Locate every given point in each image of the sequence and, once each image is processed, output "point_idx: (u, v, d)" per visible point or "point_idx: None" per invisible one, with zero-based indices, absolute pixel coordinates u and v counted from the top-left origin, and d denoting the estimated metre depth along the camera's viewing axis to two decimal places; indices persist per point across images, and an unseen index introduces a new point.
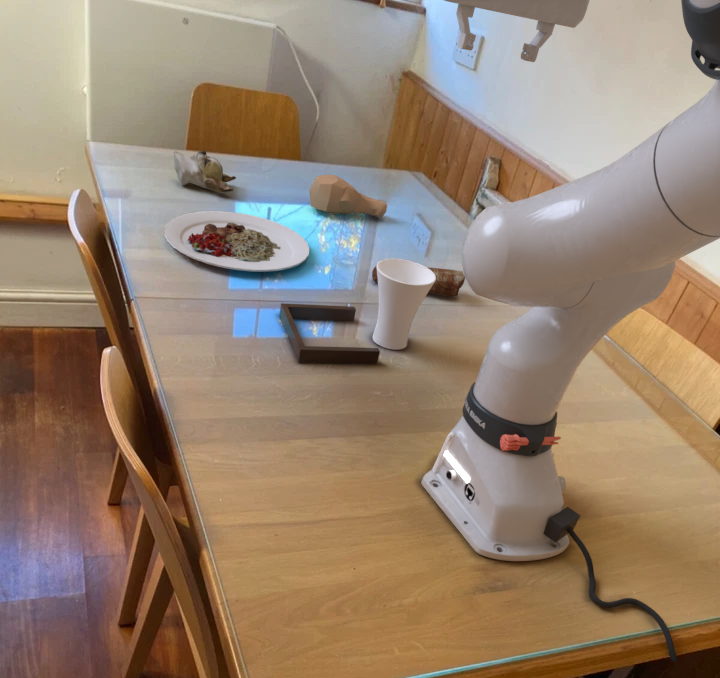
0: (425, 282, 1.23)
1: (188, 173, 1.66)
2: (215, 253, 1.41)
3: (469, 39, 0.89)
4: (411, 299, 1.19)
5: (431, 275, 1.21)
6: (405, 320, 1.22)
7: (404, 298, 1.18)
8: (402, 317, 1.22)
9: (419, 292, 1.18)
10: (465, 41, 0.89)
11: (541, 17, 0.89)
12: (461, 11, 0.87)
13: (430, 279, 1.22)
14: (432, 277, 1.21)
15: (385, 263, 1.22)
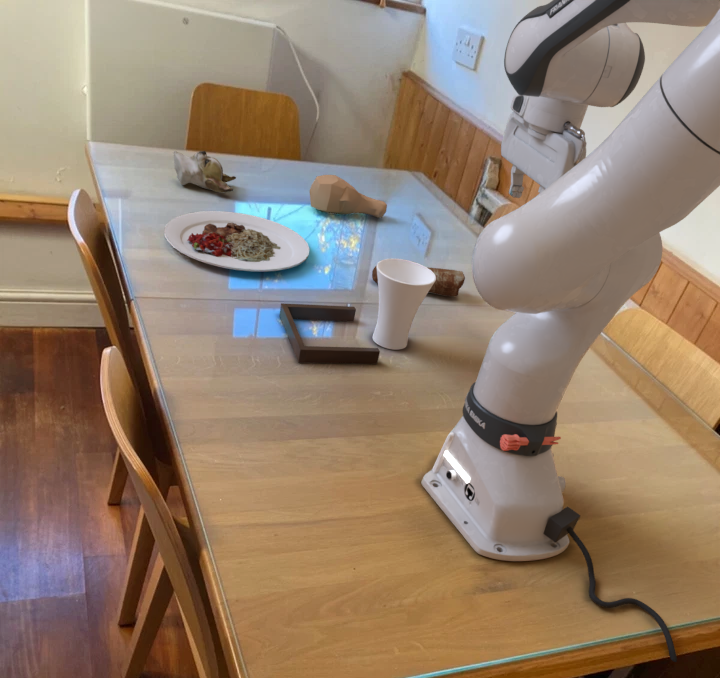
0: (425, 282, 1.23)
1: (188, 173, 1.66)
2: (215, 253, 1.41)
3: None
4: (411, 299, 1.19)
5: (431, 275, 1.21)
6: (405, 320, 1.22)
7: (404, 298, 1.18)
8: (402, 317, 1.22)
9: (419, 292, 1.18)
10: None
11: None
12: None
13: (430, 279, 1.22)
14: (432, 277, 1.21)
15: (385, 263, 1.22)
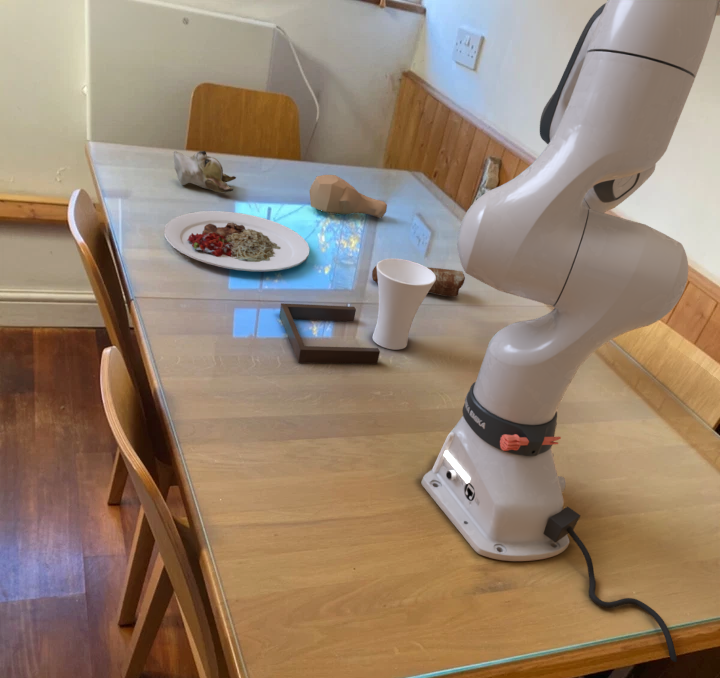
0: (425, 282, 1.23)
1: (188, 173, 1.66)
2: (215, 253, 1.41)
3: None
4: (411, 299, 1.19)
5: (431, 275, 1.21)
6: (405, 320, 1.22)
7: (404, 298, 1.18)
8: (402, 317, 1.22)
9: (419, 292, 1.18)
10: None
11: None
12: None
13: (430, 279, 1.22)
14: (432, 277, 1.21)
15: (385, 263, 1.22)
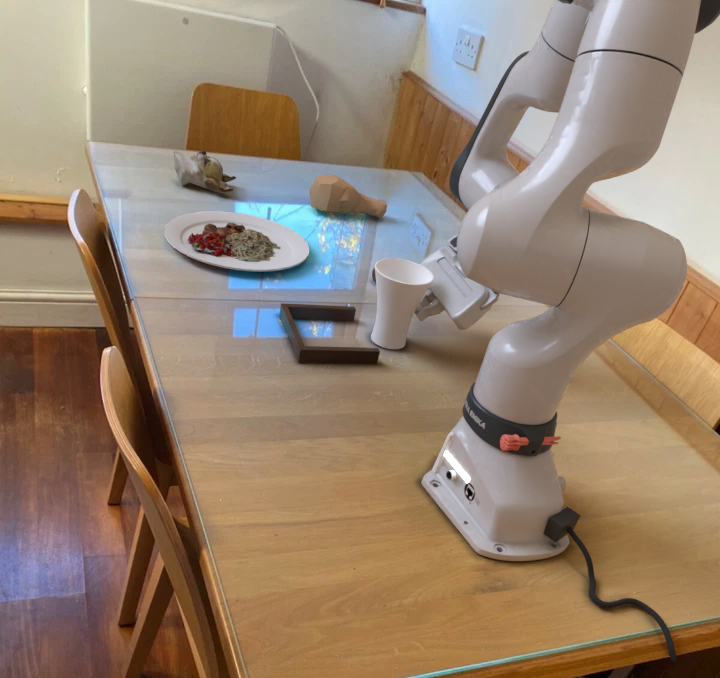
0: (423, 281, 1.23)
1: (188, 173, 1.66)
2: (215, 253, 1.41)
3: None
4: (410, 299, 1.19)
5: (429, 274, 1.21)
6: (404, 320, 1.22)
7: (403, 298, 1.18)
8: (401, 317, 1.22)
9: (417, 292, 1.18)
10: None
11: None
12: (439, 310, 1.24)
13: (428, 279, 1.22)
14: (430, 276, 1.21)
15: (383, 263, 1.22)
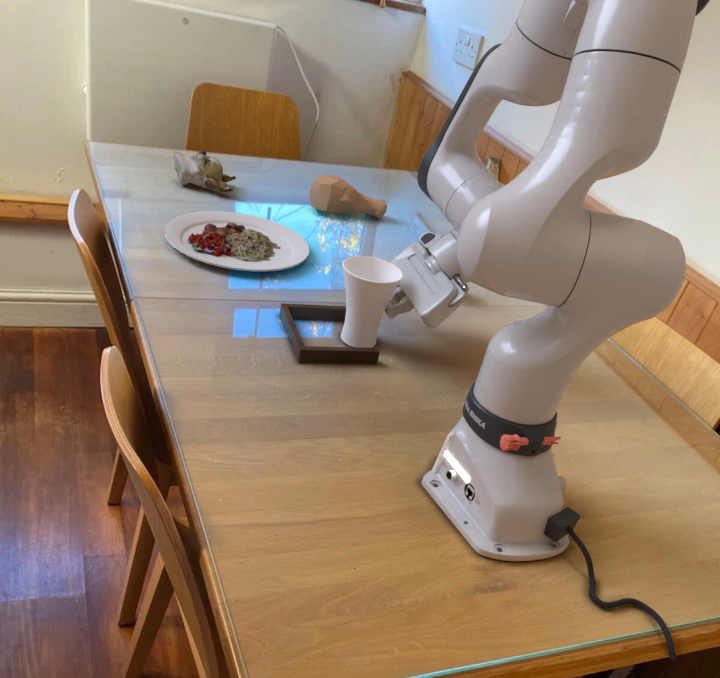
0: (392, 279, 1.21)
1: (188, 173, 1.66)
2: (215, 253, 1.41)
3: None
4: (380, 297, 1.17)
5: (397, 271, 1.20)
6: (374, 318, 1.21)
7: (373, 296, 1.16)
8: (371, 316, 1.20)
9: (387, 290, 1.16)
10: None
11: None
12: (409, 307, 1.22)
13: (396, 276, 1.20)
14: (399, 273, 1.19)
15: (350, 261, 1.20)
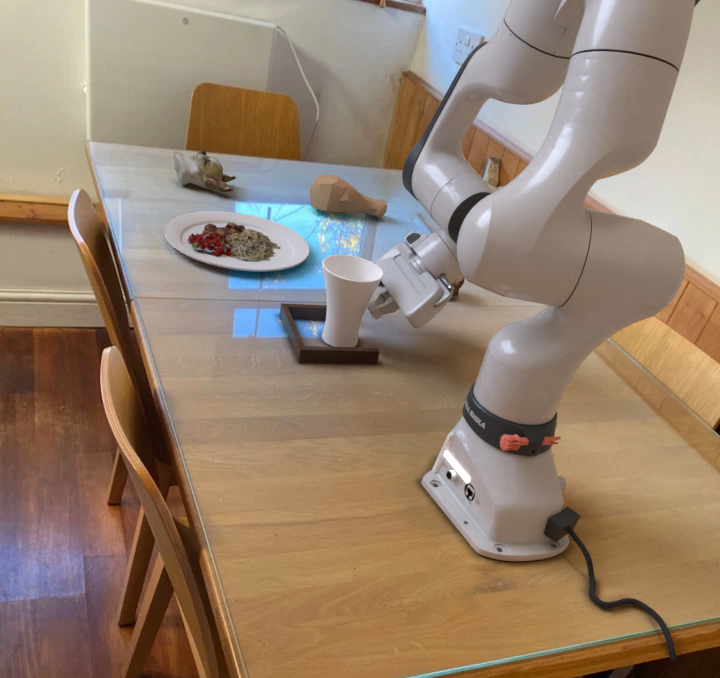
0: (372, 278, 1.20)
1: (188, 173, 1.66)
2: (215, 253, 1.41)
3: None
4: (360, 296, 1.16)
5: (378, 270, 1.19)
6: (355, 318, 1.19)
7: (353, 296, 1.15)
8: (352, 315, 1.19)
9: (368, 289, 1.15)
10: None
11: None
12: (394, 308, 1.21)
13: (377, 275, 1.19)
14: (379, 272, 1.18)
15: (330, 260, 1.19)
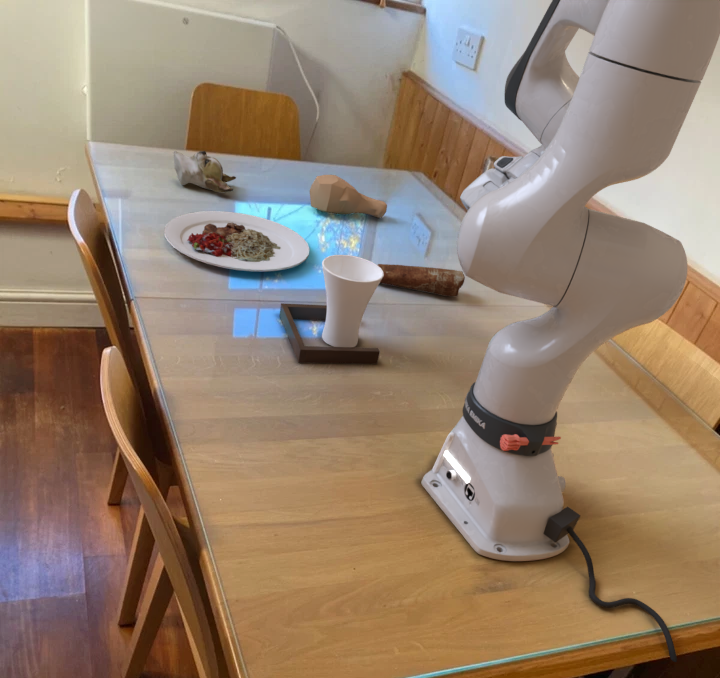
0: (372, 278, 1.20)
1: (188, 173, 1.66)
2: (215, 253, 1.41)
3: None
4: (360, 296, 1.16)
5: (378, 270, 1.19)
6: (355, 318, 1.19)
7: (353, 296, 1.15)
8: (352, 315, 1.19)
9: (368, 289, 1.15)
10: None
11: None
12: None
13: (377, 275, 1.19)
14: (379, 272, 1.18)
15: (330, 260, 1.19)
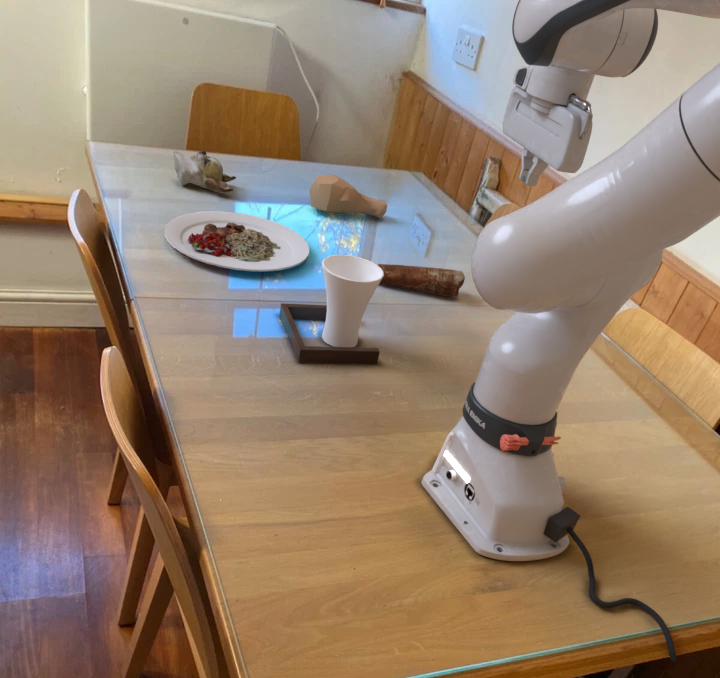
0: (372, 278, 1.20)
1: (188, 173, 1.66)
2: (215, 253, 1.41)
3: None
4: (360, 296, 1.16)
5: (378, 270, 1.19)
6: (355, 318, 1.19)
7: (353, 296, 1.15)
8: (352, 315, 1.19)
9: (368, 289, 1.15)
10: None
11: None
12: (545, 163, 1.07)
13: (377, 275, 1.19)
14: (379, 272, 1.18)
15: (330, 260, 1.19)
